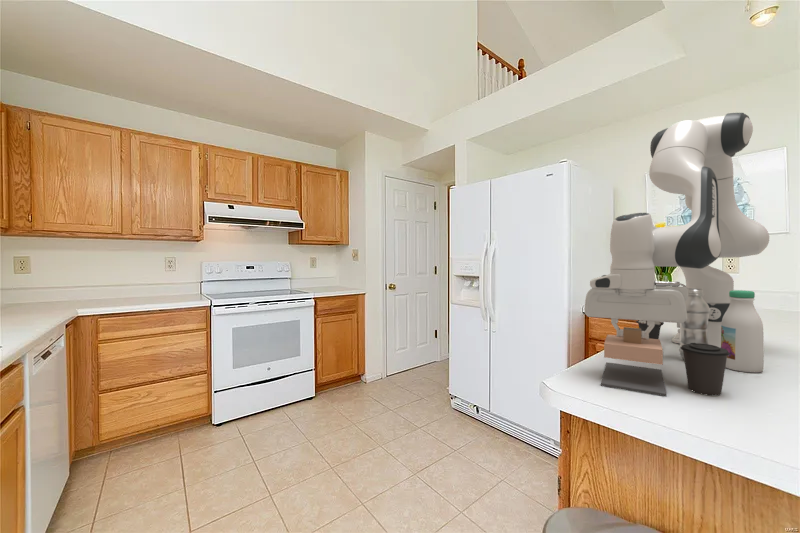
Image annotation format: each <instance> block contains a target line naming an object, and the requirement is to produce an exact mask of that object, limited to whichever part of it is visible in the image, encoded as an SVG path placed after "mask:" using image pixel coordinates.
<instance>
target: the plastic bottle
mask: <svg viewBox="0 0 800 533" xmlns="http://www.w3.org/2000/svg"><path fill="white" fill-rule="evenodd" d="M702 296H704V294H703V289H695V288H688V299H687V300H686V301H685V305H686V311H687V320H686V321H685V322H684V323H681V326H682V335H681V343H679V349H678V351H679V355H680V357H681V358H682V359H683V360H684V354H683V350H682V349H681V348H680V347H682V345H685V344H690V343H700V344H708V336H707V328H708V319H709V312H710V308H709V306H708V304H707V303H706V302H705V301H704V300H703V298H702Z"/></svg>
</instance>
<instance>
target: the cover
mask: <svg viewBox="0 0 800 533" xmlns="http://www.w3.org/2000/svg"><path fill="white" fill-rule="evenodd" d="M623 329H624V330H623V334H624V338H623V337H617V334H606V337H605V340H604V343H603V347H604V348H603V351H604V352H603V354H604V356H603V358H606V359H615V360H622V361H629V362H636V363H637V362H638V363H646V364H652V365H653V364H655V365H661V366H662V365H663V364H664V362H663V358H664V357H663V356H664V351H663V350H664V349H663V346H662V343H661V340H660V339H650V338H649V340H644V339H641V328H639V327H629V326H628V327H625V326H624V327H623Z"/></svg>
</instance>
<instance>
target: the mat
mask: <svg viewBox="0 0 800 533" xmlns="http://www.w3.org/2000/svg"><path fill="white" fill-rule="evenodd" d="M600 386H601V387H605V388H612V389H619V390H625V391H631V392H636V393H642V394H648V395H653V396H660V397H667V390H666V386H665V381H664V375H663V370H662V369H661V368H653V367H646V366H645V367H644V366H638V365H637V366H636V365H629V364H624V363H617V362H616V363H614V362H606V363H605V366H604V369H603V374H602V378H601V382H600Z"/></svg>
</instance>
